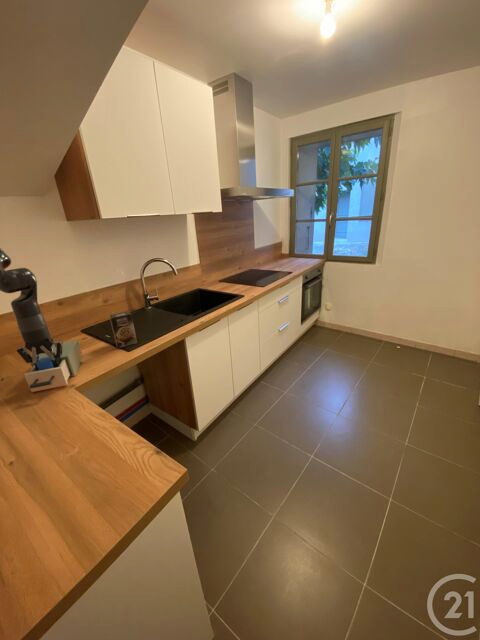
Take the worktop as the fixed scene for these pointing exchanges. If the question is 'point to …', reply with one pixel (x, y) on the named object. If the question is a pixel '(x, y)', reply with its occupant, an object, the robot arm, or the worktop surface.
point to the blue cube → (45, 363)
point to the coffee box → (123, 329)
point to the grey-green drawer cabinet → (68, 356)
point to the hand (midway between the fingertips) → (48, 369)
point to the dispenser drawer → (48, 377)
